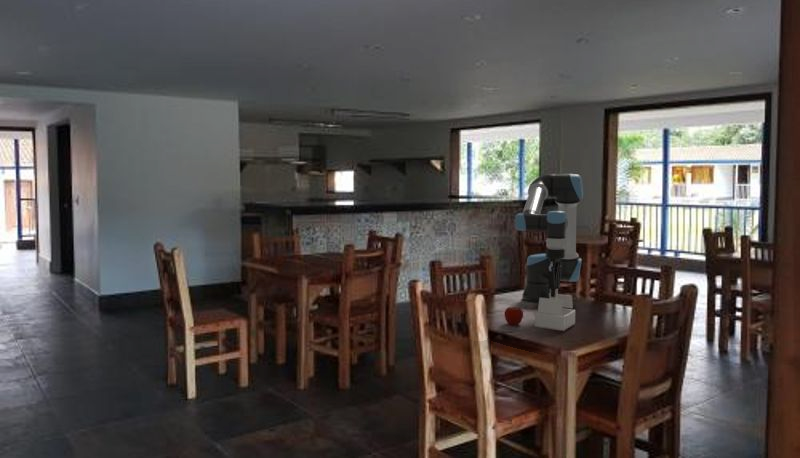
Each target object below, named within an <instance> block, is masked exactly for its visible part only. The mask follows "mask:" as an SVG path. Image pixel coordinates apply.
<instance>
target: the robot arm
mask: <svg viewBox="0 0 800 458" xmlns="http://www.w3.org/2000/svg"><path fill="white" fill-rule="evenodd" d="M583 186H584V185H583V180H582V176H581V175H580V174H575V173H545V174H543V175H540V176H538V177H537V178H535V179H534V180H533V181H532V182H531V183H530V184H529V186H528V189H527V194H528V196H527V198H526V202H525V205H524V208H523V211H522V213H516V215H515V217H514V226H515V229H516V231H523V232H546V239H545V242H546V245H545V246H546V249H545V253H536V254H531V255H529V256H528V257H527V258H526V259H527V260H526V264H525V266H526V279H525V280H526V281H525V283H526V284H525V287H524V289H523V293H522V297H521V298H522V300H523V301H527V302H531V303H539V299H540V298H548V299H549V293H550V299H556V300H558V294H559V293H558V291H559V290H560V289H561V287H560V286H561V281H562V282H577V281H578V280H579V277H580V272H581V267H582V261H583V259H582V258H581V257H580V256H579V253H577V209H578V208H577V206H578V204H580V202H581V199H583V198H584V187H583ZM547 198H550V199H554V201H555V203H556V204H557V206H558V208H557V209H558V210H550V211H548V212H547V213H541V211H542V209H543V205H544V202H545V200H546V199H547Z"/></svg>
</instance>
